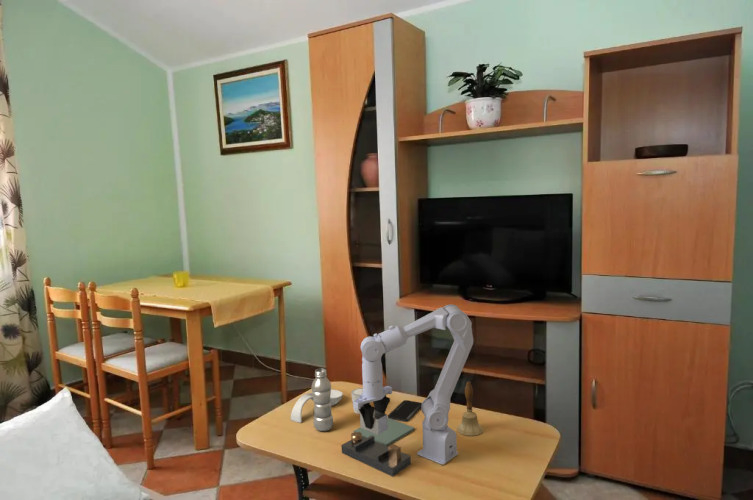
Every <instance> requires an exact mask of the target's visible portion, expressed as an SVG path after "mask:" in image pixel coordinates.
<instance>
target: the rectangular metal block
mask: <svg viewBox="0 0 753 500" xmlns="http://www.w3.org/2000/svg"><path fill="white" fill-rule="evenodd" d="M387 418H388V414H387V413H385V414H384V413H381V412H378V411H376V410H374V414H373V427H372V429H369V428H366V427H365V423H364V420H363V417H362V415H361V413H360V414H359V422H360V424H359V425H360V427H361V428H362V429H365V430H367V431H370V432H372V433H375V434H377V435H379V434H381V433H383V432H384V431H386V430H388V423H387Z"/></svg>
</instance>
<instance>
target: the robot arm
mask: <svg viewBox="0 0 753 500" xmlns="http://www.w3.org/2000/svg"><path fill="white" fill-rule="evenodd" d="M472 324H473V323H472V321H471V319H470V318H469V316H468V315H467V313H466V312H464V311H463V310H462V309H460V307H458V305H456V304H447V305H445V306H443V307H438V308H437V309H435V310H434V311H432V312H430V313H427V314H426V315H424V316H422V317H421V318H418V319H416V320H415V321H412V322H411V323H408V324H406V325H405V326H400V325H389V326H388V329H386V330H385V331H382V332H379V333H374V334H373V336H370V335H369V336H367V337H365V338H364V339H363V340H362V341H361V344H360V351H361V354H362V357H361V361H362V364H361V374H362V377H361V378H362V388H363V391H362V392H361V394H362V395H361V396H360V397H359V398H358V399H357V400H355V401H352V408H354V409H357V410H359V411H360V413H361V415H362V417H363V420H364V423H365V427H366V428H369V429H372V427H373V414H374V410H376V411H378V412H381V413H384V414H386V411H387V408H388V407H389V404H390V403H391V398H390V397H388V396H387V395H392V394H393V387H392V386H389V385H386V386H384V384H383V382H384V380H383V363H382V356H383V355H384V354H387V353H389V352H391V351H393V350H395V349H398V348H400V347H402V346H404V345H406V344H407V341H408V339H409V338H412V337H414V336H417V335H419V334H422V333H424V332H426V331H429V330H432V329H438V330H443V331H446V330H447V329H446V327H447V328H448V330H449V332H450V334H451V336H452V338H453V343H452V345H451V348H450V350H449V353H448V355H447V357H446V360H445V362H444V364H443V367H442V370H440V371H441V372H440V374H439V377H438V379H437V382H436V384H435V386H434V388H433V389H432V390H430V391H429V394H428V396H427V397H426V398H424V400H423V401H422V402H421V403H422V405H421V409H420V411H421V412H422V413H423V416H424V418H423V420H422V423H421V425H422V448H421V449H420V450H419V451H417V452H416V455H418V456H421V457H422V458H425V459H427V460H429V461H432V462H434V463H436V464H439V465H442V466H444V465H445V464H447V463H449V461H451V460H452V459H453V458H455V457H456V456H458V454H459V452H458V448H457V445H458V444H457V432H456V430H454V429H452V428H451V427H450V426H449V425H448V424H449V412H450V409H451V397H452V395H453V392H454V390H455V388H456V386H457V383H458V381H459V378H460V376H461V373H462V372H463V369H464V366H465V364H466V362H467V359H468V357H469V354H470V353H471V350H472V347H473V345H474V336H473V329H472ZM371 403H373V406H372V404H371ZM354 409H353V410H354Z"/></svg>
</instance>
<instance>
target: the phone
mask: <svg viewBox="0 0 753 500" xmlns="http://www.w3.org/2000/svg"><path fill="white" fill-rule="evenodd" d="M421 405H422V402H419V401H414V400H413V401H412V400H407V399H405V400H403V401H401V402H400V403H399V404H398V405H397V406H396V407H395V408H393V409H392V411H390V413H388V414H387V418H390V419H392V420H395V421H398V422H401V423H403V422H404V423H408V422H409V421H410V420H411V419H412V418H413V417H414V416H416V414H417V413H418V412H419V411H421Z"/></svg>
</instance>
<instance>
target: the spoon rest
mask: <svg viewBox="0 0 753 500" xmlns="http://www.w3.org/2000/svg"><path fill="white" fill-rule="evenodd" d="M343 397H344V393H343V392H342V391H341V390H337V389H333V388H331V395H330V405H331V407H333V406H335V405H337V404H338V403H339V402H340V401H341V400H342V398H343ZM310 400H311V401H312V402H314V398H313V393H312V392H310V393H309V392H308V393H305V394H303V395H302V396H300V398H299V399H298V400H296V402H295V403H294V405H293V407H292V410H291V413H290V421H292V422H295V423H298V424H301V423H302V422H303V420H302V411H303V407H304V406H305V404H306V403H307V402H308V401H310Z"/></svg>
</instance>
